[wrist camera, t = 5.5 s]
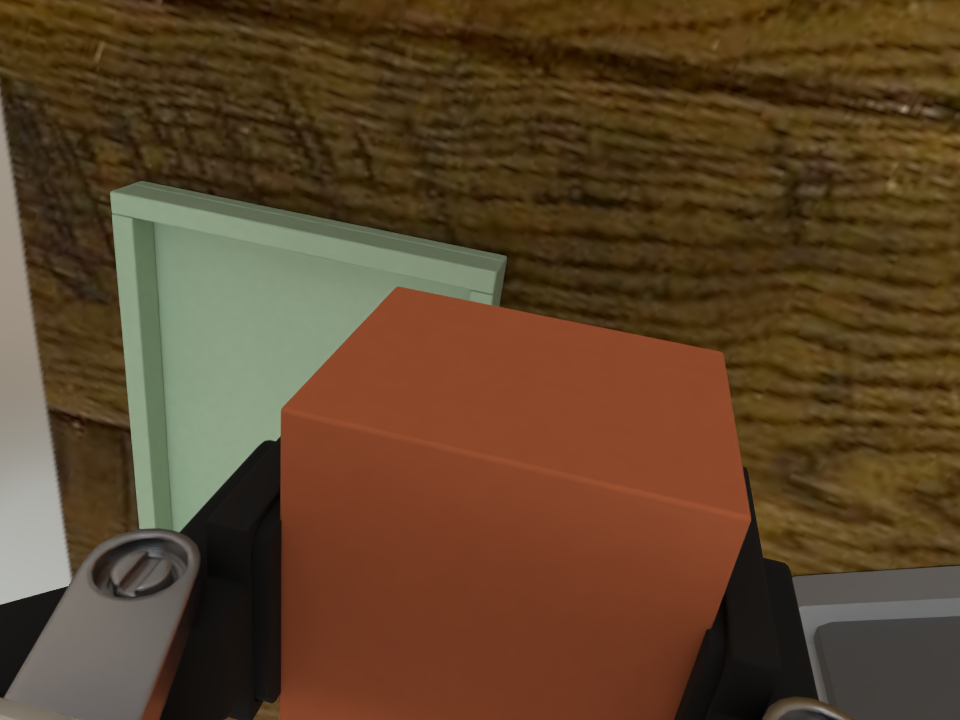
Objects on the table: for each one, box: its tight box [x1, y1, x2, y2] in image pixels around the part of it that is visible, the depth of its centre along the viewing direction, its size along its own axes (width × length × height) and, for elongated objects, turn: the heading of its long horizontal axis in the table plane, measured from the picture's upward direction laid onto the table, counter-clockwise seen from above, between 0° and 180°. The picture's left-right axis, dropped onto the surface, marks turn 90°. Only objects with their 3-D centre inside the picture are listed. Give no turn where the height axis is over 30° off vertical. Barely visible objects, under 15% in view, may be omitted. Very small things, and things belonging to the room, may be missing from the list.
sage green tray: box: [110, 181, 507, 532], centre depth 29 cm, size 17×14×2 cm
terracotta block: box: [280, 287, 751, 720], centre depth 11 cm, size 6×5×4 cm
